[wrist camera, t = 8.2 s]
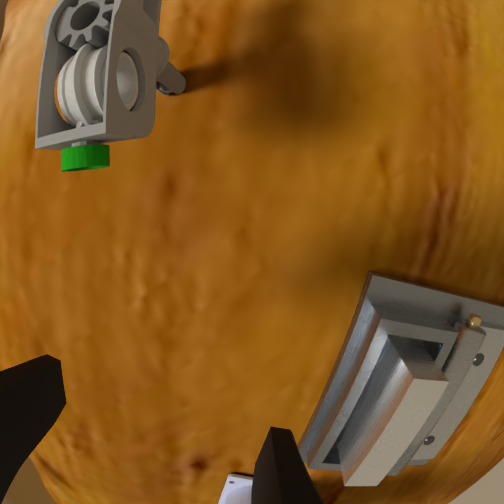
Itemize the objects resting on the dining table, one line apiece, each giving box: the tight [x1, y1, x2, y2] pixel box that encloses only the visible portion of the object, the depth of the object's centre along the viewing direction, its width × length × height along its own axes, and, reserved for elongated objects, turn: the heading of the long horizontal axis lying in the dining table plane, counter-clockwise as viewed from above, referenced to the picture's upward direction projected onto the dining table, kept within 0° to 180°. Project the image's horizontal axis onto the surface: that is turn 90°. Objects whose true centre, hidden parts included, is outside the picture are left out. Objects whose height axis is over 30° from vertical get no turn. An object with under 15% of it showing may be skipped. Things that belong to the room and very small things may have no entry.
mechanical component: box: [35, 0, 186, 172], centre depth 11 cm, size 3×10×10 cm, turn 1°
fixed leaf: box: [297, 271, 504, 476], centre depth 18 cm, size 16×13×3 cm
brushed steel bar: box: [336, 334, 449, 486], centre depth 16 cm, size 9×2×5 cm, turn 167°
